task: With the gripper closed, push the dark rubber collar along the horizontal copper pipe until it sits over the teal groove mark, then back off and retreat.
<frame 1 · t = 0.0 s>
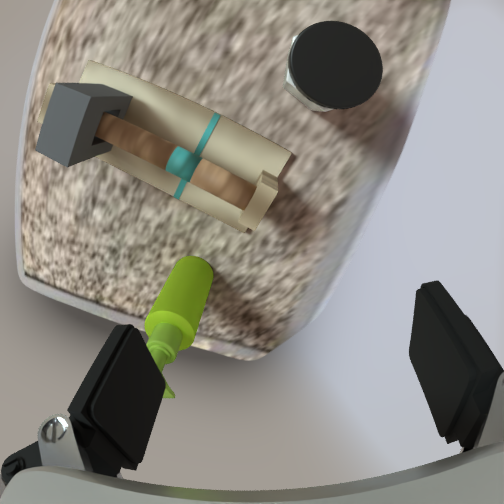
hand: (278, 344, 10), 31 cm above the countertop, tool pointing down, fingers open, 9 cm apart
soap dispenser: (194, 276, 46), on the countertop
collar: (85, 120, 29), point 7 cm above the countertop, slide at 0.0 cm
jar: (317, 76, 33), on the countertop
pipe rig: (163, 139, 37), on the countertop
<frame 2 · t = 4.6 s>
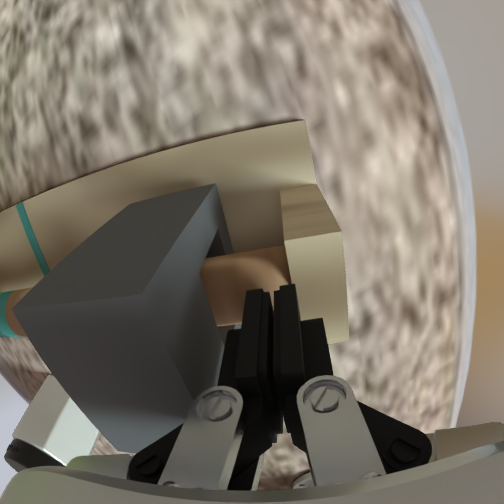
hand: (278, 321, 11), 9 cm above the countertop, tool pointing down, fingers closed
collar: (164, 310, 13), point 7 cm above the countertop, slide at 0.5 cm, touching gripper
jar: (77, 398, 29), on the countertop
pipe rig: (100, 261, 20), on the countertop
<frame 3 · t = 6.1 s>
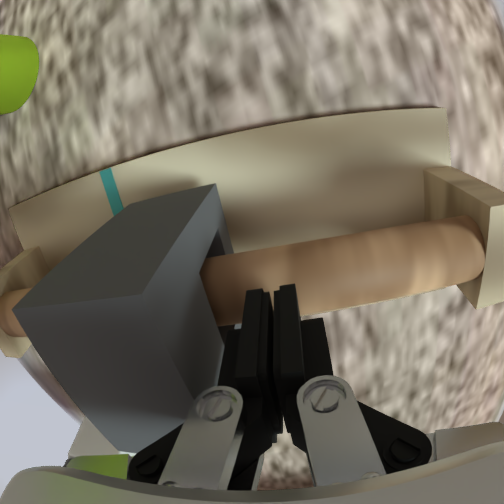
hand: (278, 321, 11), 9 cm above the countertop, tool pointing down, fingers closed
soap dispenser: (10, 72, 14), on the countertop
collar: (164, 310, 13), point 7 cm above the countertop, slide at 8.9 cm, touching gripper
jar: (136, 403, 28), on the countertop
pipe rig: (212, 240, 19), on the countertop
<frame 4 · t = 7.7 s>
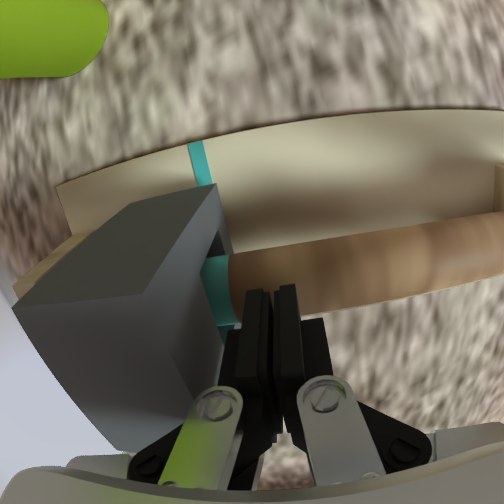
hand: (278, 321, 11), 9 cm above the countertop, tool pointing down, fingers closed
soap dispenser: (67, 33, 14), on the countertop
collar: (163, 310, 13), point 7 cm above the countertop, slide at 14.6 cm, touching gripper
pipe rig: (305, 224, 18), on the countertop
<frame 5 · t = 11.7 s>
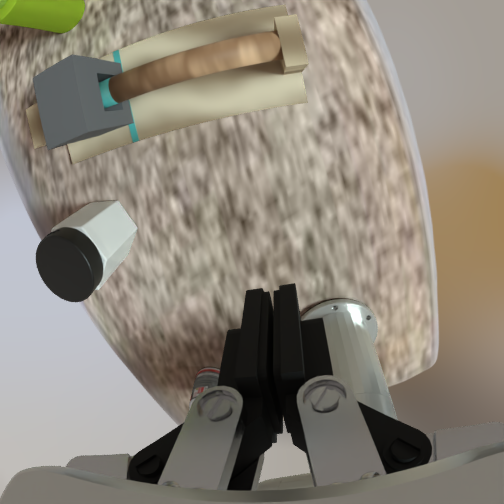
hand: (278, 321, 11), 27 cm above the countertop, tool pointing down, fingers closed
pill bottle: (213, 376, 51), on the countertop
soap dispenser: (66, 13, 26), on the countertop
collar: (86, 100, 26), point 7 cm above the countertop, slide at 14.7 cm
jar: (110, 227, 40), on the countertop
pipe rig: (165, 81, 31), on the countertop
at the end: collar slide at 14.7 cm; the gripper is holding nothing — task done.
